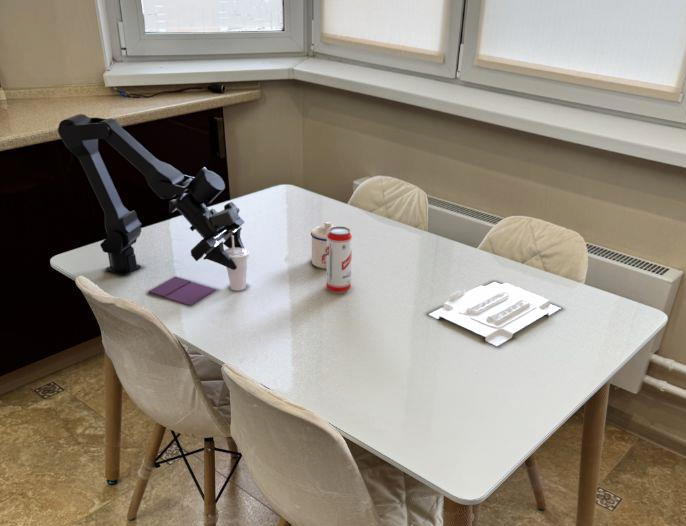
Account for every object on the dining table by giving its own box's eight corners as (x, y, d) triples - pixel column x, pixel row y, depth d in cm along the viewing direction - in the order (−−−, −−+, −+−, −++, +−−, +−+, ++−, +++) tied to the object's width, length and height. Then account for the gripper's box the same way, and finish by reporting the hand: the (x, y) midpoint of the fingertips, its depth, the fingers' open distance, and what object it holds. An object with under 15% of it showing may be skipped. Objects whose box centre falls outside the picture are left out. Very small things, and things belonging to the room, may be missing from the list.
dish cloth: (148, 292, 172) (148, 291, 172) (175, 278, 180) (175, 276, 179) (190, 305, 167) (190, 303, 167) (215, 290, 175) (215, 288, 175)
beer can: (353, 286, 180) (356, 227, 171) (345, 296, 175) (347, 236, 166) (331, 282, 181) (332, 224, 173) (322, 292, 176) (323, 232, 168)
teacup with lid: (322, 272, 186) (322, 231, 180) (304, 260, 192) (304, 220, 186) (358, 263, 192) (360, 223, 186) (340, 251, 198) (341, 212, 192)
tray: (561, 308, 174) (564, 294, 172) (497, 350, 157) (499, 336, 155) (494, 281, 186) (495, 268, 183) (427, 318, 169) (428, 305, 167)
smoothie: (226, 281, 179) (222, 230, 171) (251, 281, 180) (248, 230, 172) (224, 293, 174) (220, 240, 166) (250, 292, 174) (247, 240, 167)
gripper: (197, 208, 157) (244, 260, 161) (235, 184, 172) (277, 232, 176) (171, 235, 163) (216, 285, 167) (209, 209, 178) (250, 256, 182)
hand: (241, 263), depth 173 cm, fingers closed on smoothie, 6 cm apart
